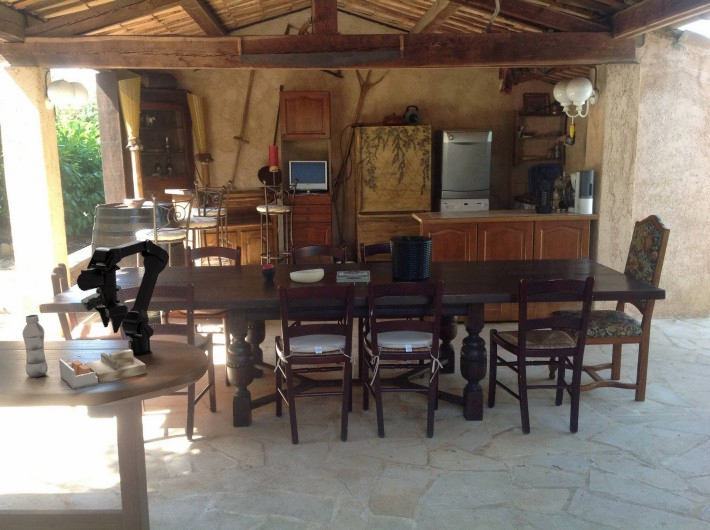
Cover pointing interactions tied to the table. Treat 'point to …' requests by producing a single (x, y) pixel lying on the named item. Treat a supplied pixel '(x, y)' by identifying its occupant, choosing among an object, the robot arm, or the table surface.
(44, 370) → the plastic bottle
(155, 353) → the table surface
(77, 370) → the tile
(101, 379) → the board
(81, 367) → the tile
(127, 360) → the scraper
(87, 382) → the box
